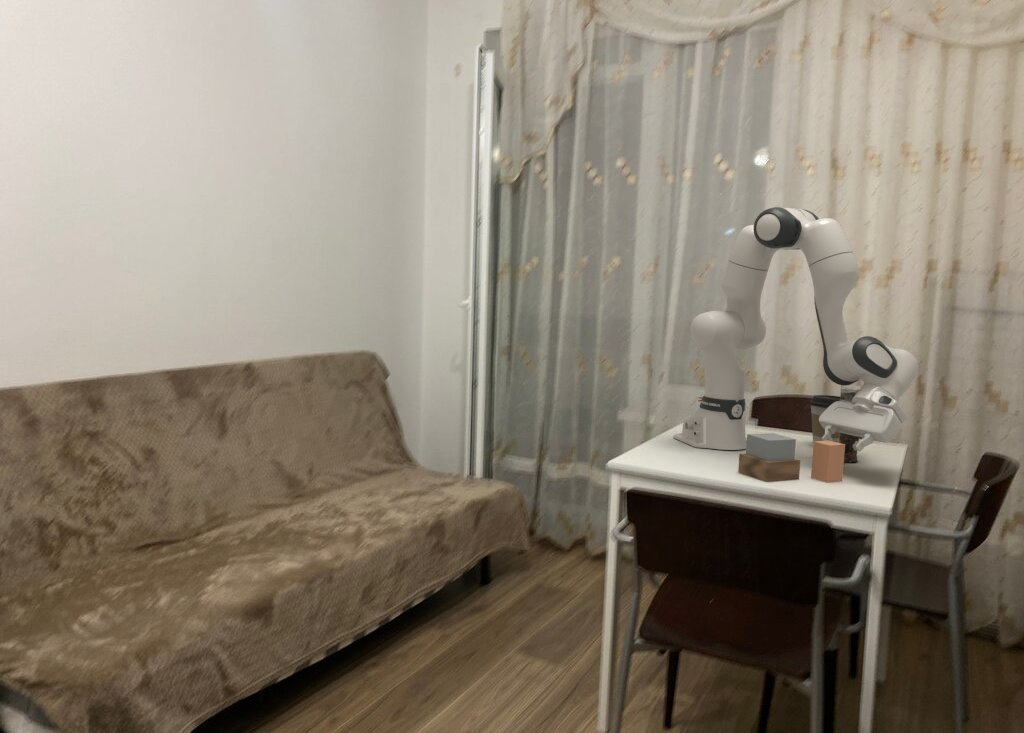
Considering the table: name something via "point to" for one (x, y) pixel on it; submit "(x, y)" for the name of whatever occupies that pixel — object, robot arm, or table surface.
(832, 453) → the terracotta block
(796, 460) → the tower base
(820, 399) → the coffee cup
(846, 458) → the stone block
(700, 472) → the table surface
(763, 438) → the tower top
